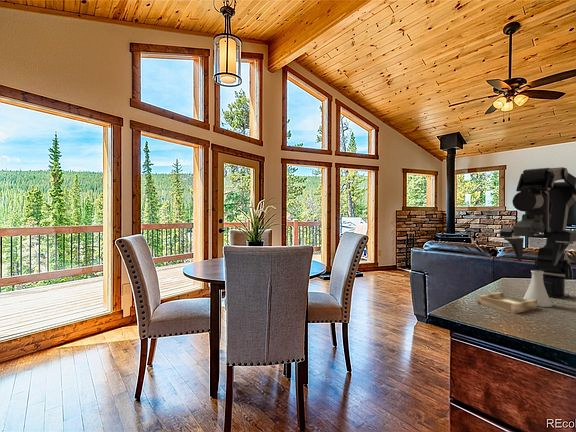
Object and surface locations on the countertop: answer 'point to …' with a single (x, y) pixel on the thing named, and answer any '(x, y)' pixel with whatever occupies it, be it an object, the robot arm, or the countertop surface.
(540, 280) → the flask
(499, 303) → the tray
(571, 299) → the countertop surface
